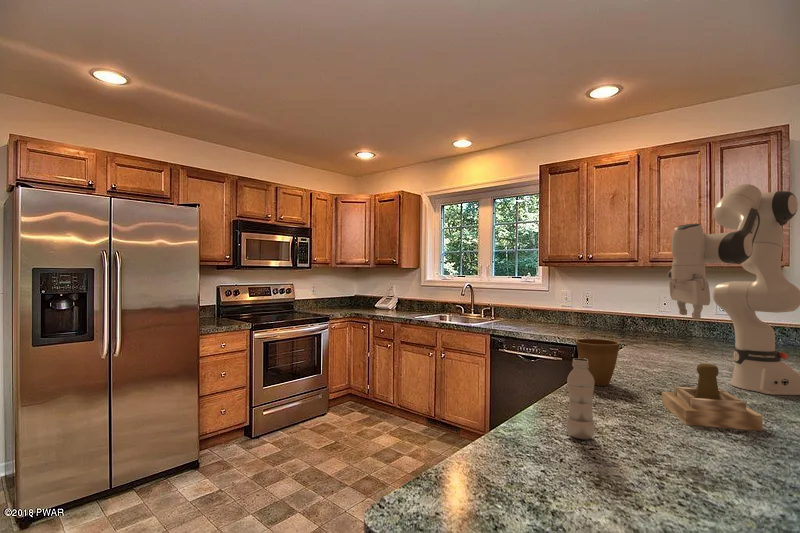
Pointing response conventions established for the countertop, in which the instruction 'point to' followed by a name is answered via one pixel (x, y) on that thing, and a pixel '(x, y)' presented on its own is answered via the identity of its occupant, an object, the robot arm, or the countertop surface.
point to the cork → (707, 382)
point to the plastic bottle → (580, 400)
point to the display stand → (711, 410)
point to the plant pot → (599, 358)
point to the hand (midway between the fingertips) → (689, 316)
